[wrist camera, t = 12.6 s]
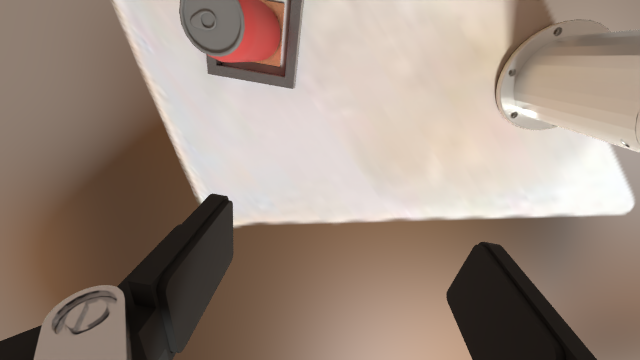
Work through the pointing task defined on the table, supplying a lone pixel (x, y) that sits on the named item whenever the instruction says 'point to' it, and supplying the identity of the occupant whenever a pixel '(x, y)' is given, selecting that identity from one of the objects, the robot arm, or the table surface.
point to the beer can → (231, 28)
